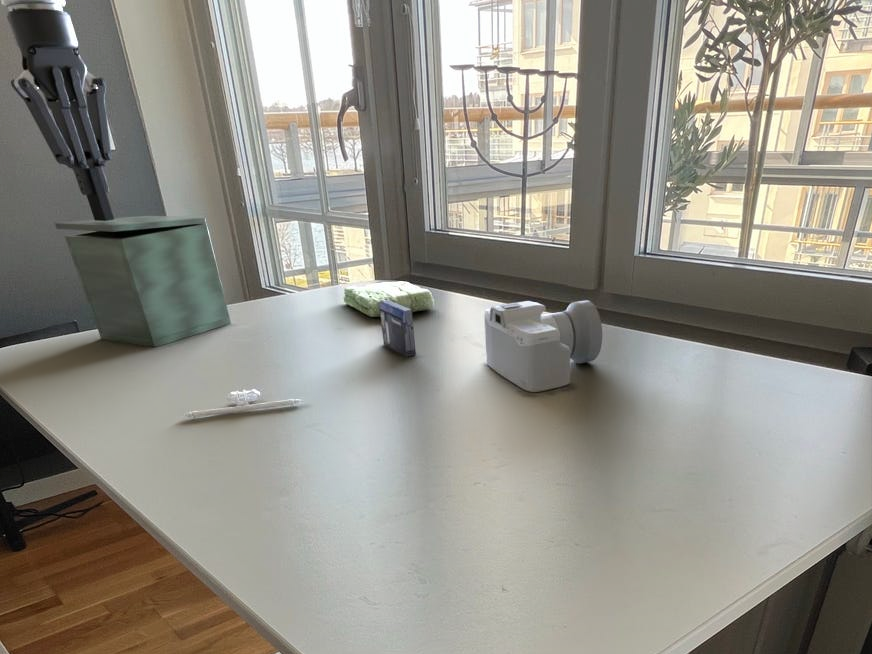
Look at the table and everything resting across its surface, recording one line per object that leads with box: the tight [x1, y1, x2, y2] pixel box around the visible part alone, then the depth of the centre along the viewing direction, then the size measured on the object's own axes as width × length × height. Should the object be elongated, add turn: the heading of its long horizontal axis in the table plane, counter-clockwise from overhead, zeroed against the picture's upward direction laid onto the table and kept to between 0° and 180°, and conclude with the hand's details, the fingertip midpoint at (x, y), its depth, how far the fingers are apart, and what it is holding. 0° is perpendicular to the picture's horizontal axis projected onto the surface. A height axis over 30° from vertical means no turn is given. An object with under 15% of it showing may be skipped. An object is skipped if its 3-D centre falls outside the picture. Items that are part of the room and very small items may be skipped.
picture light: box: [182, 388, 303, 419], centre depth 85 cm, size 14×4×2 cm, turn 104°
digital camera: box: [483, 299, 603, 393], centre depth 89 cm, size 17×14×10 cm
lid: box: [54, 215, 207, 232], centre depth 108 cm, size 17×14×1 cm
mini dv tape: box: [379, 300, 417, 357], centre depth 101 cm, size 8×2×6 cm, turn 30°
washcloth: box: [343, 281, 435, 318], centre depth 125 cm, size 13×18×3 cm
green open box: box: [64, 223, 232, 348], centre depth 114 cm, size 16×14×15 cm
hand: (104, 219), depth 105 cm, fingers closed
